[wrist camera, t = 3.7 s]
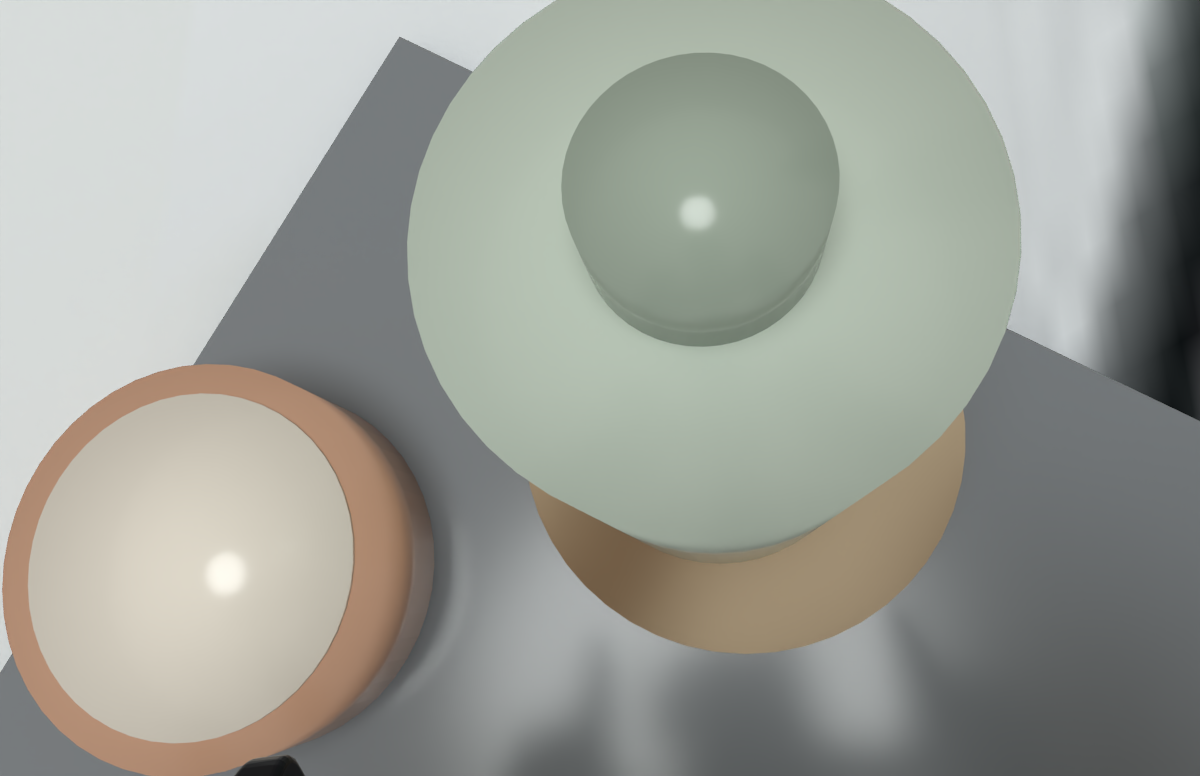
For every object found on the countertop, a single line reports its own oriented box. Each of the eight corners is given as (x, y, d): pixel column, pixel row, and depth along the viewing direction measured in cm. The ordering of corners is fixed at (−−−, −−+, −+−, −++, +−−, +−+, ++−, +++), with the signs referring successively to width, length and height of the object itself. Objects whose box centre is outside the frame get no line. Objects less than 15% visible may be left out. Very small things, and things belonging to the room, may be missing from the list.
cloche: (917, 358, 20) (1188, 30, 8) (777, 620, 19) (853, 671, 8) (660, 231, 21) (575, -215, 9) (521, 472, 21) (241, 317, 9)
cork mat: (1039, 343, 20) (1043, 340, 20) (833, 740, 19) (834, 743, 19) (655, 159, 22) (654, 153, 22) (449, 512, 21) (445, 511, 21)
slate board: (1423, 541, 19) (1446, 539, 18) (978, 1510, 17) (987, 1543, 16) (407, 50, 24) (399, 37, 23) (-33, 752, 22) (-53, 757, 21)
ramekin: (500, 498, 21) (461, 483, 18) (312, 823, 20) (238, 865, 17) (221, 335, 23) (142, 296, 20) (36, 630, 22) (-76, 637, 19)
